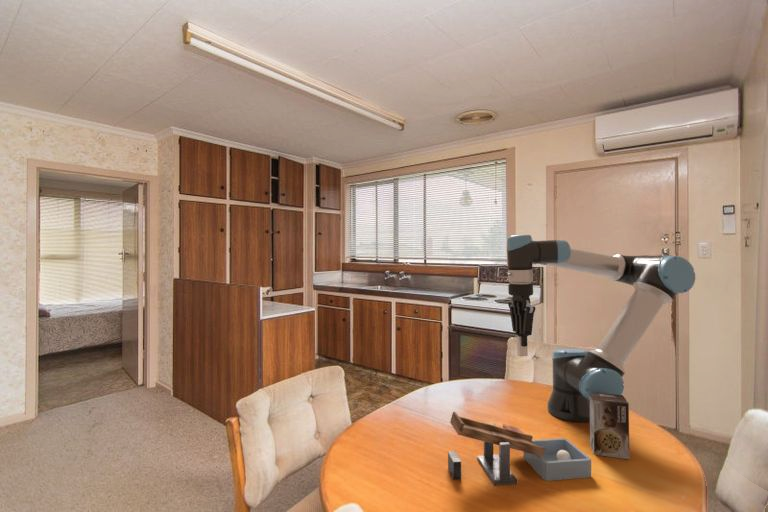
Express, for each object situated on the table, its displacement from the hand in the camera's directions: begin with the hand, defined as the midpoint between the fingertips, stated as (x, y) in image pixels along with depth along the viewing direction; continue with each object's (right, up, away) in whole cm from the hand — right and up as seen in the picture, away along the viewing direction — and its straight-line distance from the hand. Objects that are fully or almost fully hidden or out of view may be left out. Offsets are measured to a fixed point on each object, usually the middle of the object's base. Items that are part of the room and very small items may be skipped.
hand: (522, 355), depth 121 cm
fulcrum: (-20, -25, -21) cm, 39 cm away
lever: (-15, -17, -18) cm, 29 cm away
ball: (+4, -23, -19) cm, 30 cm away
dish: (+2, -25, -19) cm, 32 cm away
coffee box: (+21, -25, -12) cm, 35 cm away
